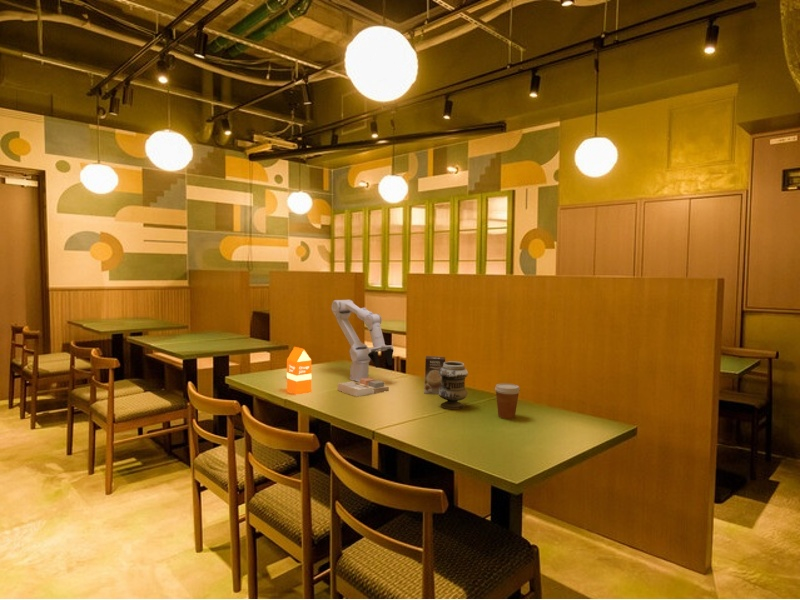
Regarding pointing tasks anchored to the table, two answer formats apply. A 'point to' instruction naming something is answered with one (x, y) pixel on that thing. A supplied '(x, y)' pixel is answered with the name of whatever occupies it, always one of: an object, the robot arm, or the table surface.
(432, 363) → the coffee box
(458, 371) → the apothecary jar
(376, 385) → the tile slate
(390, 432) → the table surface
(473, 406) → the table surface
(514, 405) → the disposable coffee cup
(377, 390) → the board
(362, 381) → the tile terracotta
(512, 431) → the table surface
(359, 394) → the tray
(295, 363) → the orange juice
